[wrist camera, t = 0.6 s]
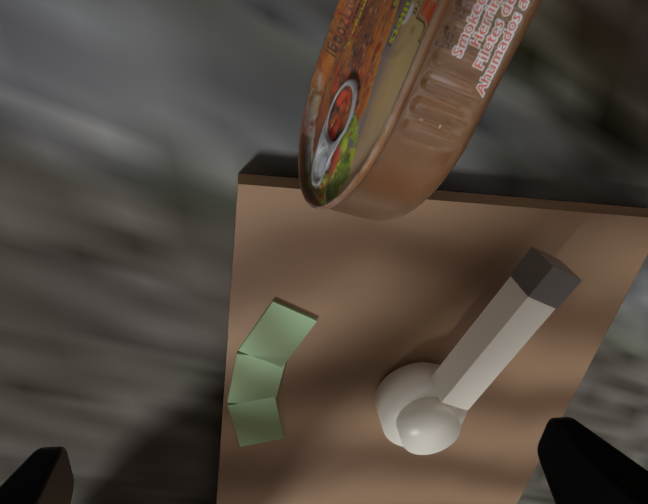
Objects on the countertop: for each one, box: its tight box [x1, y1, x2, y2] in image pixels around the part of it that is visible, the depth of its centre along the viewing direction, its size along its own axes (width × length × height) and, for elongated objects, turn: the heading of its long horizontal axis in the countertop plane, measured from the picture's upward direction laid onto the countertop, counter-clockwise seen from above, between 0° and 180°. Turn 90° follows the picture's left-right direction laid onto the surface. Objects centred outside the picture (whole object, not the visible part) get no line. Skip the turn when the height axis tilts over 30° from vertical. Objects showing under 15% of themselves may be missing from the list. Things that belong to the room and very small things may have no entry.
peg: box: [375, 246, 582, 455], centre depth 24 cm, size 12×4×3 cm, turn 152°
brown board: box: [216, 173, 648, 504], centre depth 27 cm, size 22×20×1 cm
